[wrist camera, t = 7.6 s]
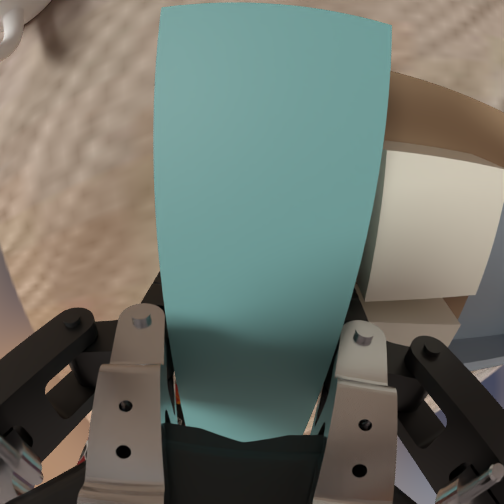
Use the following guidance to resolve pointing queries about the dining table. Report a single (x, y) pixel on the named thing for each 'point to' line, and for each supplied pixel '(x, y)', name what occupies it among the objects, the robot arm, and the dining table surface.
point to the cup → (16, 21)
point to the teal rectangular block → (263, 201)
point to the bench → (443, 127)
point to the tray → (484, 314)
